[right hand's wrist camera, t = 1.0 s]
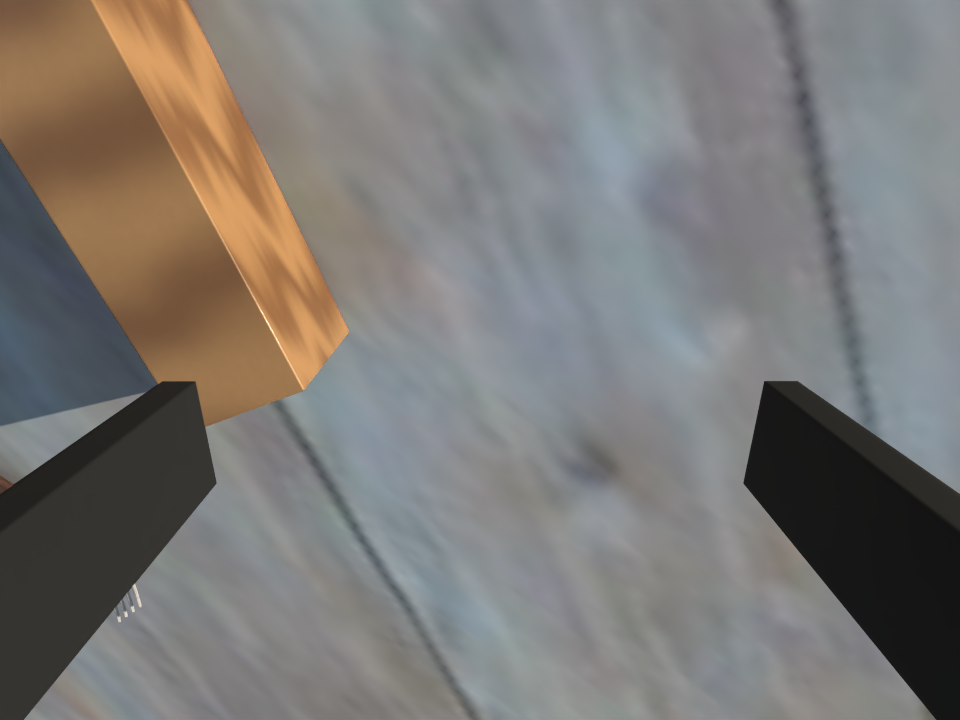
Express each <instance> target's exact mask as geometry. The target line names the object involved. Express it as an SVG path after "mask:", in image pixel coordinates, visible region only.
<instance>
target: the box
mask: <svg viewBox="0 0 960 720" xmlns="http://www.w3.org/2000/svg"><path fill="white" fill-rule="evenodd" d="M0 140H1V142H2V143H3V145H4V146H5V148H6V150H7V151H8V153H9V154H10V156H11V157H12V159H13V160H14V162H15V164H16V165H17V167H18V168H19V170H20V171H21V173H22V174H23V176H24V178H25V179H26V181H27V182H28V184H29V185H30V187H31V188H32V190H33V191H34V193H35V195H36V196H37V198H38V199H39V201H40V202H41V204H42V205H43V207H44V209H45V210H46V212H47V213H48V215H49V216H50V218H51V219H52V221H53V223H54V224H55V226H56V227H57V229H58V230H59V232H60V233H61V235H62V236H63V238H64V240H65V241H66V243H67V244H68V246H69V247H70V249H71V250H72V252H73V254H74V255H75V257H76V258H77V260H78V261H79V263H80V264H81V266H82V268H83V269H84V271H85V272H86V274H87V275H88V277H89V278H90V280H91V281H92V283H93V285H94V286H95V288H96V289H97V291H98V292H99V294H100V295H101V297H102V299H103V300H104V302H105V303H106V305H107V306H108V308H109V309H110V311H111V313H112V314H113V316H114V317H115V319H116V320H117V322H118V323H119V325H120V327H121V328H122V330H123V331H124V333H125V334H126V336H127V337H128V339H129V340H130V342H131V344H132V345H133V347H134V348H135V350H136V351H137V353H138V354H139V356H140V358H141V359H142V361H143V362H144V364H145V365H146V367H147V368H148V370H149V372H150V373H151V375H152V376H153V378H154V379H155V381H156V382H157V384H159V383H161V382H162V381H196V386H197V390H198V395H199V400H200V405H201V410H202V415H203V420H204V425H205V427H206V426H209V425H212V424H214V423H217V422H220V421H222V420H225V419H228V418H231V417H233V416H236V415H239V414H242V413H244V412H247V411H250V410H252V409H255V408H258V407H261V406H263V405H266V404H269V403H271V402H274V401H277V400H280V399H282V398H285V397H288V396H290V395H293V394H296V393H299V392H301V391H304V390H305V388H306V387H307V386H308V385H309V383H310V382H311V381H312V379H313V378H314V377H315V375H316V374H317V373H318V372H319V370H320V369H321V368H322V366H323V365H324V364H325V363H326V361H327V360H328V359H329V357H330V356H331V355H332V353H333V352H334V351H335V350H336V348H337V347H338V346H339V344H340V343H341V342H342V341H343V339H344V338H345V337H346V335H347V334H348V333H349V330H348V328H347V326H346V324H345V322H344V320H343V318H342V316H341V314H340V312H339V310H338V308H337V306H336V304H335V302H334V300H333V298H332V296H331V293H330V291H329V289H328V287H327V285H326V283H325V281H324V279H323V277H322V275H321V273H320V271H319V269H318V267H317V265H316V263H315V261H314V259H313V257H312V255H311V253H310V251H309V249H308V246H307V244H306V242H305V240H304V238H303V236H302V234H301V232H300V230H299V228H298V226H297V224H296V222H295V220H294V218H293V216H292V214H291V212H290V210H289V208H288V206H287V204H286V202H285V200H284V197H283V195H282V193H281V191H280V189H279V187H278V185H277V183H276V181H275V179H274V177H273V175H272V173H271V171H270V169H269V167H268V165H267V163H266V161H265V159H264V157H263V155H262V153H261V150H260V148H259V146H258V144H257V142H256V140H255V138H254V136H253V134H252V132H251V130H250V128H249V126H248V124H247V122H246V120H245V118H244V116H243V114H242V112H241V110H240V108H239V106H238V103H237V101H236V99H235V97H234V95H233V93H232V91H231V89H230V87H229V85H228V83H227V81H226V79H225V77H224V75H223V73H222V71H221V69H220V67H219V65H218V63H217V61H216V59H215V56H214V54H213V52H212V50H211V48H210V46H209V44H208V42H207V40H206V38H205V36H204V34H203V32H202V30H201V28H200V26H199V24H198V22H197V20H196V18H195V16H194V14H193V12H192V10H191V7H190V5H189V3H188V1H187V0H0Z"/></svg>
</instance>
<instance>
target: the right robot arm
mask: <svg viewBox="0 0 960 720" xmlns="http://www.w3.org/2000/svg"><path fill="white" fill-rule="evenodd" d="M215 485H216V478H215V473H214V468H213V463H212V459H211V454H210V449H209V444H208V439H207V434H206V429H205V425H204V420H203V415H202V410H201V405H200V400H199V395H198V390H197V386H196V381H162V382H161V383H159V384H158V385H156V386H155V387H153V388H152V389H151V390H149V391H148V392H146V393H145V394H143V395H142V396H141V397H139V398H138V399H136V400H135V401H133V402H132V403H130V404H129V405H128V406H126V407H125V408H123V409H122V410H120V411H119V412H118V413H116V414H115V415H113V416H112V417H110V418H109V419H107V420H106V421H105V422H103V423H102V424H100V425H99V426H97V427H96V428H94V429H93V430H92V431H90V432H89V433H87V434H86V435H84V436H83V437H82V438H80V439H79V440H77V441H76V442H74V443H73V444H71V445H70V446H69V447H67V448H66V449H64V450H63V451H61V452H60V453H59V454H57V455H56V456H54V457H53V458H51V459H50V460H48V461H47V462H46V463H44V464H43V465H41V466H40V467H38V468H37V469H36V470H34V471H33V472H31V473H30V474H28V475H27V476H25V477H24V478H23V479H21V480H20V481H18V482H17V483H15V484H14V485H13V486H11V487H10V488H8V489H7V490H5V491H4V492H2V493H1V494H0V720H24V719H25V717H26V716H27V715H28V714H29V713H30V711H31V710H32V709H33V708H34V706H35V705H36V704H37V703H38V701H39V700H40V699H41V698H42V697H43V695H44V694H45V693H46V692H47V690H48V689H49V688H50V687H51V686H52V684H53V683H54V682H55V681H56V679H57V678H58V677H59V676H60V675H61V673H62V672H63V671H64V670H65V668H66V667H67V666H68V665H69V664H70V662H71V661H72V660H73V659H74V657H75V656H76V655H77V654H78V652H79V651H80V650H81V649H82V648H83V646H84V645H85V644H86V643H87V641H88V640H89V639H90V638H91V637H92V635H93V634H94V633H95V632H96V630H97V629H98V628H99V627H100V626H101V624H102V623H103V622H104V621H105V619H106V618H107V617H108V616H109V614H110V613H111V612H112V611H113V610H114V608H115V607H116V606H117V605H118V603H119V602H120V601H121V600H122V599H123V597H124V596H125V595H126V594H127V592H128V591H129V590H130V589H131V588H132V586H133V585H134V584H135V583H136V581H137V580H138V579H139V578H140V576H141V575H142V574H143V573H144V572H145V570H146V569H147V568H148V567H149V565H150V564H151V563H152V562H153V561H154V559H155V558H156V557H157V556H158V554H159V553H160V552H161V551H162V550H163V548H164V547H165V546H166V545H167V543H168V542H169V541H170V540H171V538H172V537H173V536H174V535H175V534H176V532H177V531H178V530H179V529H180V527H181V526H182V525H183V524H184V523H185V521H186V520H187V519H188V518H189V516H190V515H191V514H192V513H193V512H194V510H195V509H196V508H197V507H198V505H199V504H200V503H201V502H202V501H203V499H204V498H205V497H206V496H207V494H208V493H209V492H210V491H211V489H212V488H213V487H214V486H215ZM744 485H745V486H746V487H747V488H748V489H749V491H750V492H751V493H752V494H753V496H754V497H755V498H756V499H757V501H758V502H759V503H760V504H761V505H762V507H763V508H764V509H765V510H766V512H767V513H768V514H769V515H770V516H771V518H772V519H773V520H774V521H775V523H776V524H777V525H778V526H779V527H780V529H781V530H782V531H783V532H784V534H785V535H786V536H787V537H788V538H789V540H790V541H791V542H792V543H793V545H794V546H795V547H796V548H797V550H798V551H799V552H800V553H801V554H802V556H803V557H804V558H805V559H806V561H807V562H808V563H809V564H810V565H811V567H812V568H813V569H814V570H815V572H816V573H817V574H818V575H819V576H820V578H821V579H822V580H823V581H824V583H825V584H826V585H827V586H828V588H829V589H830V590H831V591H832V592H833V594H834V595H835V596H836V597H837V599H838V600H839V601H840V602H841V603H842V605H843V606H844V607H845V608H846V610H847V611H848V612H849V613H850V614H851V616H852V617H853V618H854V619H855V621H856V622H857V623H858V624H859V626H860V627H861V628H862V629H863V630H864V632H865V633H866V634H867V635H868V637H869V638H870V639H871V640H872V641H873V643H874V644H875V645H876V646H877V648H878V649H879V650H880V651H881V652H882V654H883V655H884V656H885V657H886V659H887V660H888V661H889V662H890V664H891V665H892V666H893V667H894V668H895V670H896V671H897V672H898V673H899V675H900V676H901V677H902V678H903V679H904V681H905V682H906V683H907V684H908V686H909V687H910V688H911V689H912V690H913V692H914V693H915V694H916V695H917V697H918V698H919V699H920V700H921V701H922V703H923V704H924V705H925V706H926V708H927V709H928V710H929V711H930V713H931V714H932V715H933V716H934V717H935V719H936V720H960V494H959V493H958V492H956V491H955V490H953V489H952V488H950V487H949V486H947V485H946V484H945V483H943V482H942V481H940V480H939V479H937V478H936V477H935V476H933V475H932V474H930V473H929V472H927V471H926V470H924V469H923V468H922V467H920V466H919V465H917V464H916V463H914V462H913V461H912V460H910V459H909V458H907V457H906V456H904V455H903V454H901V453H900V452H899V451H897V450H896V449H894V448H893V447H891V446H890V445H889V444H887V443H886V442H884V441H883V440H881V439H880V438H878V437H877V436H876V435H874V434H873V433H871V432H870V431H868V430H867V429H866V428H864V427H863V426H861V425H860V424H858V423H857V422H855V421H854V420H853V419H851V418H850V417H848V416H847V415H845V414H844V413H842V412H841V411H840V410H838V409H837V408H835V407H834V406H832V405H831V404H830V403H828V402H827V401H825V400H824V399H822V398H821V397H819V396H818V395H817V394H815V393H814V392H812V391H811V390H809V389H808V388H807V387H805V386H804V385H802V384H801V383H799V382H798V381H764V386H763V390H762V395H761V400H760V405H759V410H758V415H757V420H756V425H755V429H754V434H753V439H752V444H751V449H750V454H749V459H748V463H747V468H746V473H745V478H744Z"/></svg>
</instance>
